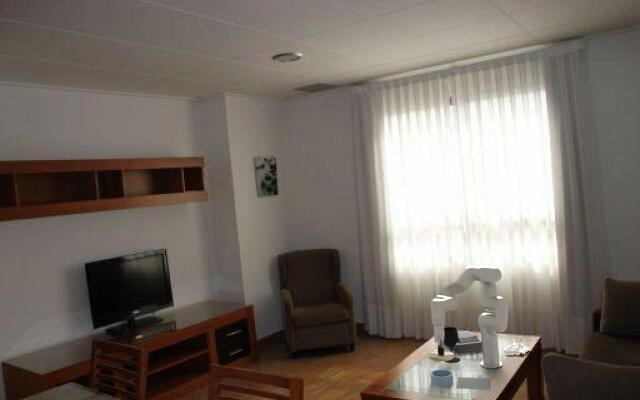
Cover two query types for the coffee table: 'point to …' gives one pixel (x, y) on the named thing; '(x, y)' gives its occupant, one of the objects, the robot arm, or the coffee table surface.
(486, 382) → the mat
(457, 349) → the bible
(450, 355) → the lid
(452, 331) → the wine glass
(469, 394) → the coffee table surface
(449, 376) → the bowl
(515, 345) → the white brass knuckles
